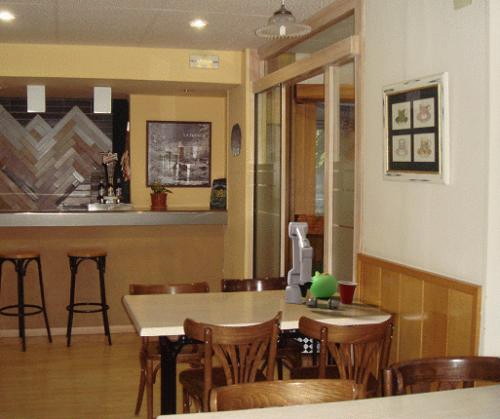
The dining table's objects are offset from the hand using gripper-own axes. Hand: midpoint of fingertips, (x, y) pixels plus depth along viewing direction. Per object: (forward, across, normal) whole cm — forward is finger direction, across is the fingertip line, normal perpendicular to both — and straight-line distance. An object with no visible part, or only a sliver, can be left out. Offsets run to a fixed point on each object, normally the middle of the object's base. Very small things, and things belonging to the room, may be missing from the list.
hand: (305, 296), depth 377 cm
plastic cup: (+7, +29, -16) cm, 34 cm away
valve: (+2, 0, 0) cm, 2 cm away
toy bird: (+8, +41, +1) cm, 42 cm away
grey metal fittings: (+7, +10, -7) cm, 14 cm away
